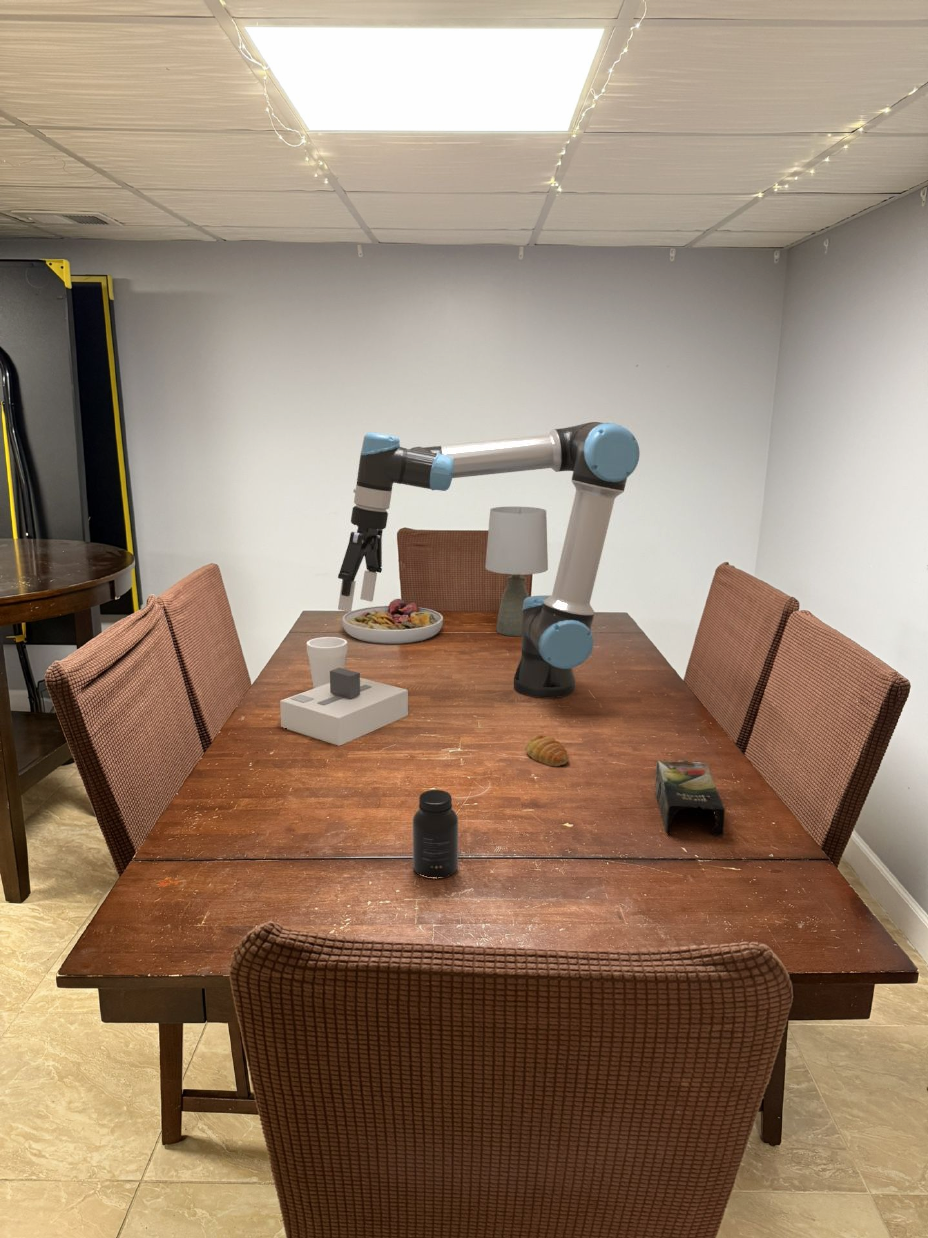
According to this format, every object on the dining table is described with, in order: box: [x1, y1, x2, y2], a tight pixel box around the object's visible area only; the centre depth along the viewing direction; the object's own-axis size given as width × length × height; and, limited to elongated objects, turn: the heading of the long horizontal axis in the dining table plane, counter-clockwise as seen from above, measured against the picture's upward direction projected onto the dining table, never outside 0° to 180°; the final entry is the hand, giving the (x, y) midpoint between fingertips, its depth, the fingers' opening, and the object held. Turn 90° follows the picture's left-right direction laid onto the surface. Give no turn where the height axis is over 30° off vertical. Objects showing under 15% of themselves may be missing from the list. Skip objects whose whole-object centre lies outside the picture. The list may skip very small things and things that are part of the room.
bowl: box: [341, 598, 444, 645], centre depth 263 cm, size 30×30×8 cm
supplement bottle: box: [412, 789, 459, 878], centre depth 131 cm, size 7×7×12 cm
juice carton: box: [654, 760, 726, 836], centre depth 152 cm, size 20×10×6 cm, turn 174°
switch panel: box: [279, 677, 409, 747], centre depth 191 cm, size 17×22×6 cm
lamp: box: [484, 506, 549, 637], centre depth 261 cm, size 19×19×37 cm
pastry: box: [525, 734, 570, 767], centre depth 173 cm, size 9×7×4 cm
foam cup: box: [306, 636, 348, 689], centre depth 206 cm, size 10×9×13 cm
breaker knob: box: [330, 668, 361, 699], centre depth 190 cm, size 6×3×5 cm, turn 54°
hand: (355, 605), depth 189 cm, fingers open, 13 cm apart
